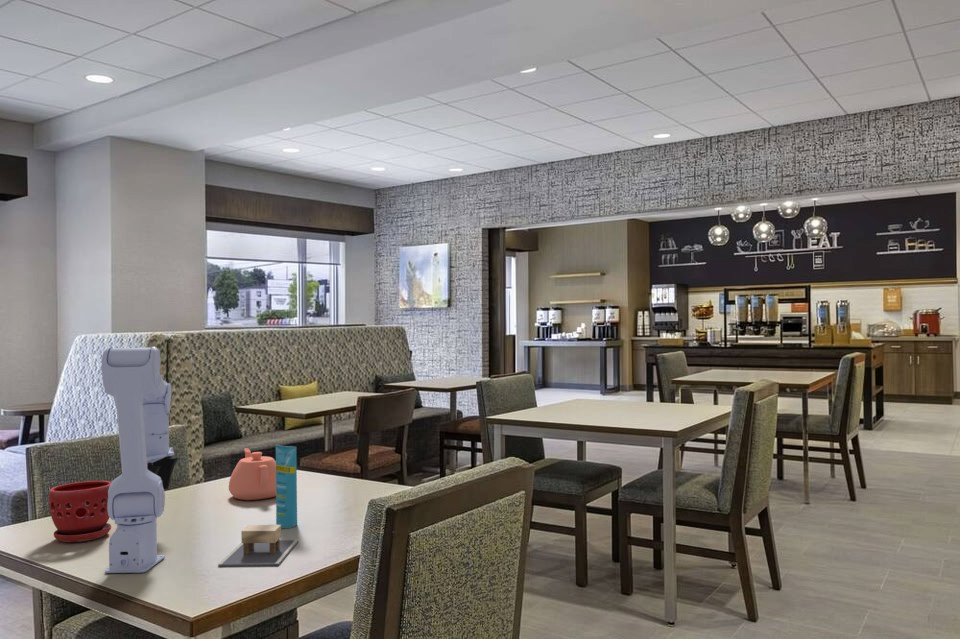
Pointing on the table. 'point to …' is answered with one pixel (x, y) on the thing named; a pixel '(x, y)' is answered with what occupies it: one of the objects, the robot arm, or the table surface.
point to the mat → (258, 555)
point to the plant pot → (80, 510)
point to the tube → (286, 486)
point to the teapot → (254, 477)
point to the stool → (261, 537)
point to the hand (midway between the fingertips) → (156, 492)
